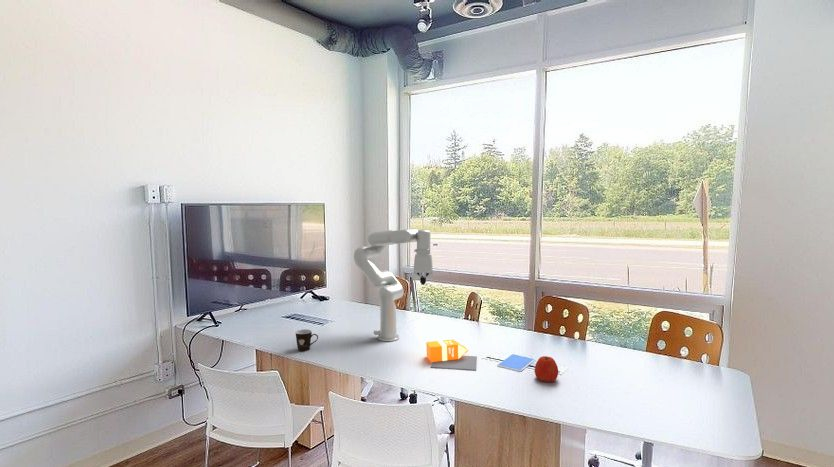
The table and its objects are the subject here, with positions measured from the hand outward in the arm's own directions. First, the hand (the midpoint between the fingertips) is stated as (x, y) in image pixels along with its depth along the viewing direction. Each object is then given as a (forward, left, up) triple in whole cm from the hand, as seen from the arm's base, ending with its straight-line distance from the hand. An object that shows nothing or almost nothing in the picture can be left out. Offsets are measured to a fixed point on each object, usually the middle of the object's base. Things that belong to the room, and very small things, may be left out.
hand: (423, 284), depth 230 cm
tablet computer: (+50, -19, -36) cm, 64 cm away
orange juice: (+6, -22, -31) cm, 38 cm away
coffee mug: (-62, -18, -35) cm, 74 cm away
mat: (+19, -23, -35) cm, 46 cm away
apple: (+62, -37, -35) cm, 80 cm away
